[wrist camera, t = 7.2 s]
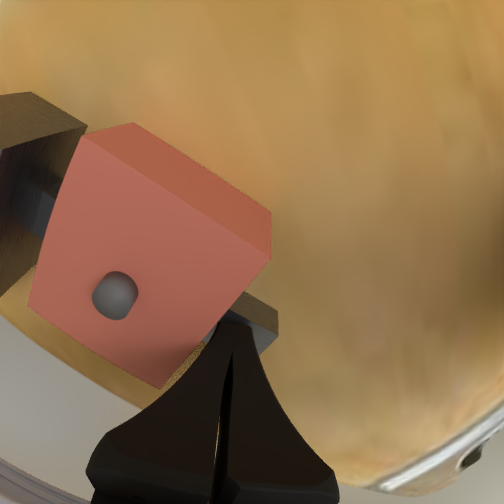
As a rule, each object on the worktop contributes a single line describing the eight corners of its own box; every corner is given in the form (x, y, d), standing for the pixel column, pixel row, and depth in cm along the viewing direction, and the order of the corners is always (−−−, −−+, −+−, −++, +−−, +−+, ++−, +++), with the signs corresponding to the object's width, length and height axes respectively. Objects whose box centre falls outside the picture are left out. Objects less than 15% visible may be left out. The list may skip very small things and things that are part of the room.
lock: (270, 211, 12) (270, 273, 8) (179, 330, 14) (154, 405, 11) (133, 122, 10) (65, 140, 6) (70, 261, 13) (16, 318, 9)
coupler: (315, 269, 13) (340, 381, 7) (223, 369, 15) (207, 471, 10) (30, 91, 10) (-78, 110, 5) (-6, 222, 12) (-83, 279, 7)
